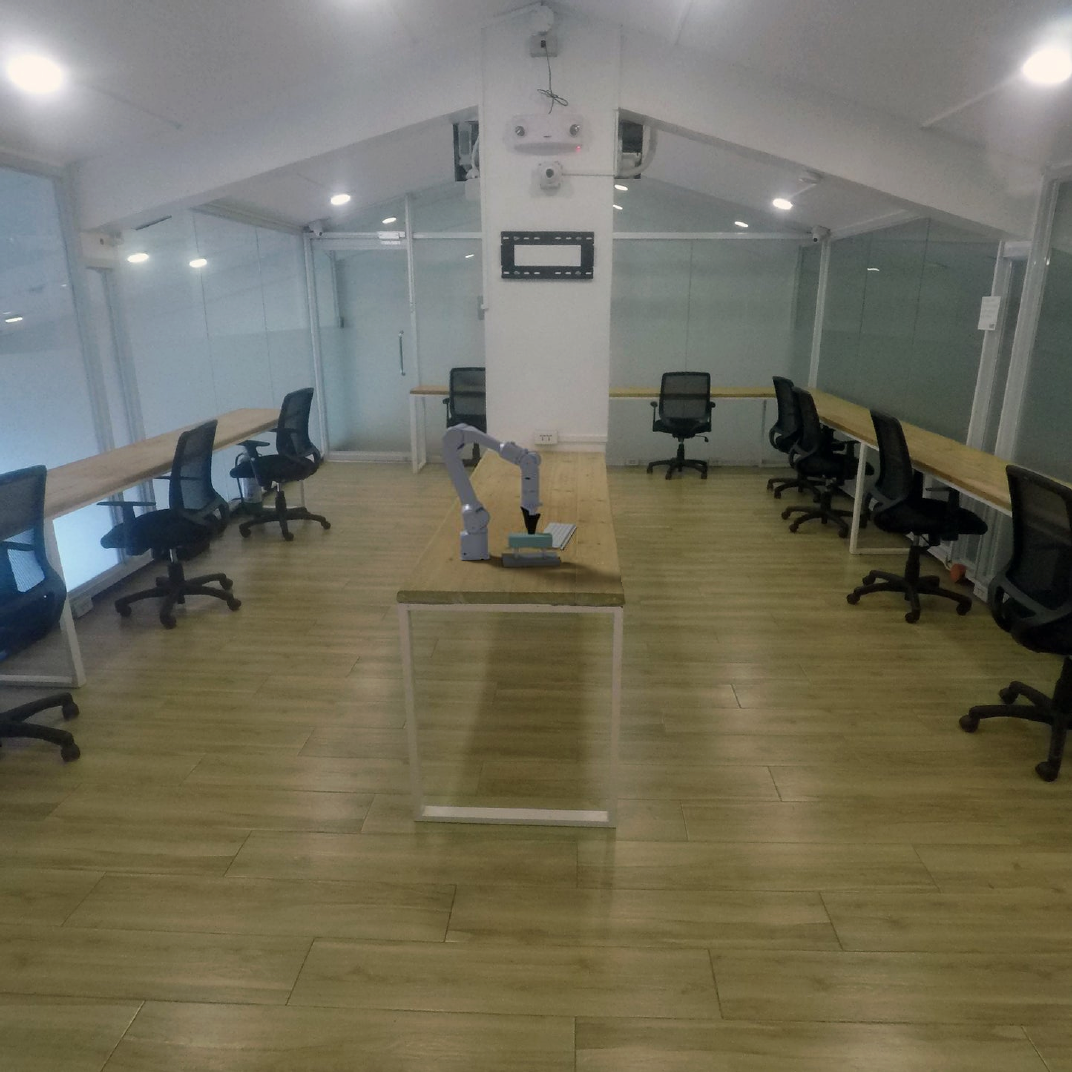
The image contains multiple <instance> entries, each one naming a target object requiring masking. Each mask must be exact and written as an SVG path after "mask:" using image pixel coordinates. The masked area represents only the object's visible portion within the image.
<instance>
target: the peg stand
mask: <svg viewBox="0 0 1072 1072" xmlns="http://www.w3.org/2000/svg"><path fill="white" fill-rule="evenodd" d="M513 549H514V550H513V551H514V552H509V553H508V552H507V553H506V552H505V553H501V559H502V560H501V561H502V565H504V566H503V568H525V566H533V567H559V566H560V558H559V557H558V553H557V552H556V551H547V549H546V547H542V549H541V551H539V552H538V551H537V552H535V551H534V552H533V551H532V552H520V551H519V549H520V548H513ZM522 566H524V567H522Z"/></svg>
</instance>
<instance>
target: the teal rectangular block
mask: <svg viewBox="0 0 1072 1072" xmlns="http://www.w3.org/2000/svg"><path fill="white" fill-rule="evenodd" d="M507 540H508V541H507V543H508V549H514V548H519V549H523V548H524V549H525V548H526V549H528V548H531V549H537V548H536V547H552V546H553V536H552V534H551V533H543V532H535V535H528V532H527V533H508V534H507Z"/></svg>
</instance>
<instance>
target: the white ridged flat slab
mask: <svg viewBox="0 0 1072 1072" xmlns="http://www.w3.org/2000/svg"><path fill="white" fill-rule="evenodd" d="M577 527H578V525H575V523H560V522H550V523H549V524H548V525H547V526H546V527H545V528H544V530H543V532H542V533H551V534H552V536H553V546H552V547H546V550H551V549H560V550H559V551H564V549H565V548H566V545H567V544H568V542H569V540H570V539H571V537H572V536H573V534H574V533H575V531H576V529H577ZM573 532H574V533H573ZM571 535H572V536H571ZM537 548H542V547H536V548H535V549H537Z"/></svg>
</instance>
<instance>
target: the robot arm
mask: <svg viewBox="0 0 1072 1072" xmlns="http://www.w3.org/2000/svg"><path fill="white" fill-rule="evenodd" d="M441 440H442V449H441V456H442V459H443V461H444V462H443V463H444V464H445V466H446V469H447V472H448V474H449V476H450V479H451V482H452V484H453V487H454V489H455V491H456V494H457V496H458V499H459V501H460V503H461V505H462V506H461V507H462V508H461V516H462V519H463V520H462V523H463V525H462V526H463V527H464V530H462V531H460V533H459V535H460V537H459V539H460V547H459V554H460V560H461V561H475V560H476V561H478V560H479V561H480V560H481V559H484V560H490V559H491V556H490V551H489V528H488V524H490V522H491V515H490V513H489V511H488V510H487V509H486V508H485V507H484V505H483V503H482V502H481V501H480V500H478V497H477V495H476V493H475V490H474V487H473V485H472V483H471V480H470V477H469V474H468V473H467V470H466V468H465V465H464V463H463V460H462V457H461V454H462V451H463V450H464V447H465V446H466V445H469V444H478V445H479V446H482V447H485V448H487V449H489V450H492V451H495V452H496V453H498V456H499V457H500V458H501V459H503V460H504V461H507V462H509V463H511V464H513V465H515V466H518V467H519V469H520V470H521V476H520V478H521V490H520V491H521V493H520V494H521V495H520V496H521V500H520V501H521V502H520V506H519V508H520V510H521V512H522V516H523V520H524V526H525V529H526V531H527V533H528V535H535V533H537V532H536V530H537V526H538V521H539V520H540V518H541V516H542V515H541V513H537V510H538V508H540V507H543V506H544V503H543V502H540V468H539V467H540V466H541V465H542V457H541V454H540V453H538V452H537V451H536V450H529V448H526V447H525V448H524V447H522V446H519V445H517V444H516V442H515V441H513V440H512V441H511V440H510V441H504V442H501V440H498V439H496V438H495V437H493V436H491V435H489V434H487V433H485V432H483V431H481V430H479V429H477V428H476V427H475V426H473V425H468V424H467V423H464V422H462V423H458V424H456V425H455V426H449V427H448V428H447V429H445V431H444V432H443V435H442V437H441Z"/></svg>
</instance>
